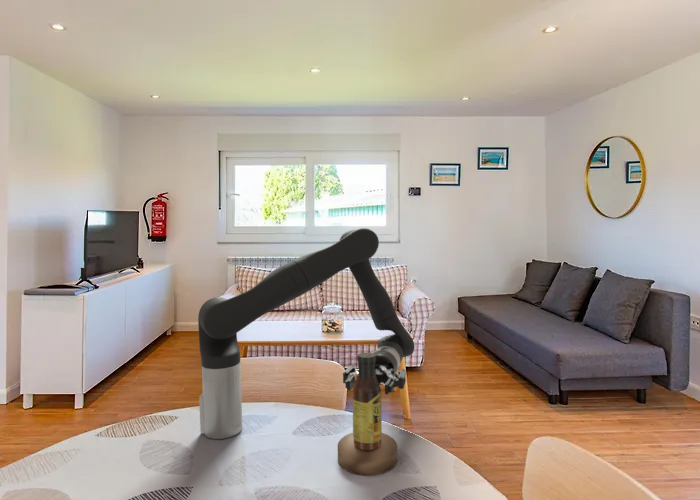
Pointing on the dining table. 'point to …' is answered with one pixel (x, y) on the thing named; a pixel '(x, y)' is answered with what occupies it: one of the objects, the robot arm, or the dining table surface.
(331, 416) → the dining table surface
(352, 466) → the tan flat disc
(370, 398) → the sauce bottle
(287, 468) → the dining table surface
